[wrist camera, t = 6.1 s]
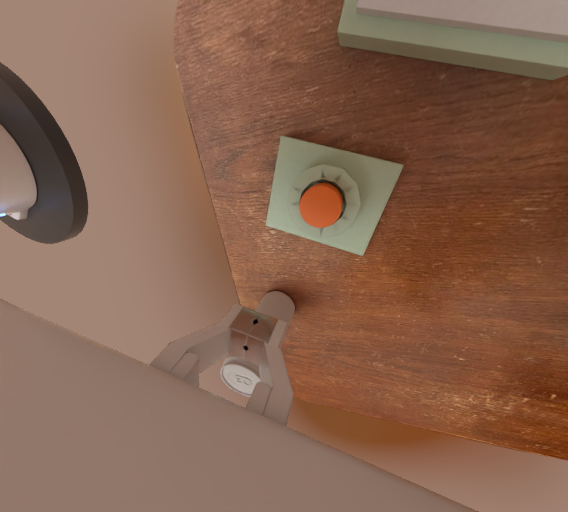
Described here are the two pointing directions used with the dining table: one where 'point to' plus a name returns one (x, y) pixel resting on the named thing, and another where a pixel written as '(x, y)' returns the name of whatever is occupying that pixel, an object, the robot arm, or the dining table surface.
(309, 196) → the button
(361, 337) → the dining table surface
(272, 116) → the dining table surface
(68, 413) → the robot arm
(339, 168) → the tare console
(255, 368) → the beverage can
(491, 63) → the scale
